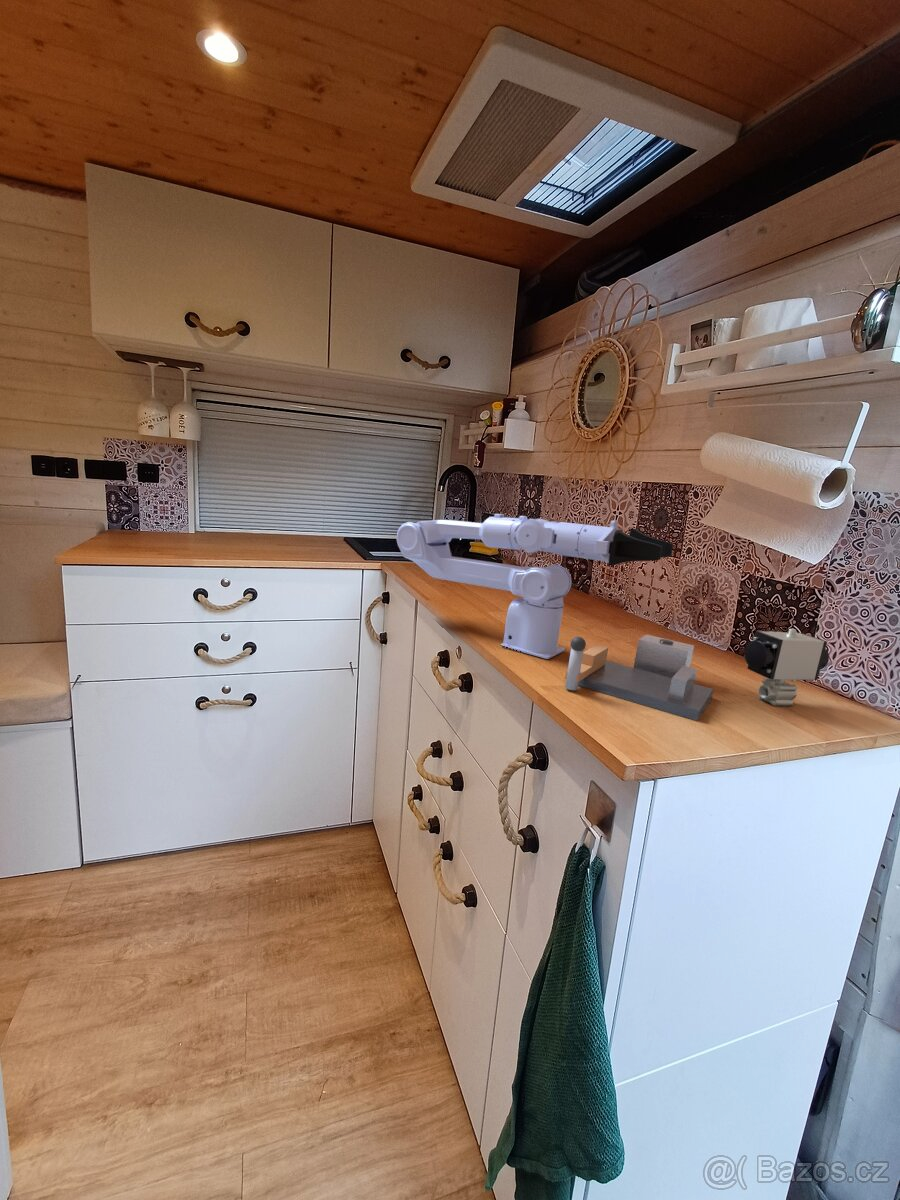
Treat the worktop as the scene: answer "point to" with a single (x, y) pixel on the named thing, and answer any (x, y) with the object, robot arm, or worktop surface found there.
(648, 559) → the robot arm
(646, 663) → the block
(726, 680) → the worktop surface
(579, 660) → the ball knob lever
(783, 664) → the pneumatic valve
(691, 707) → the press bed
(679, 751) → the worktop surface
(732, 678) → the worktop surface
